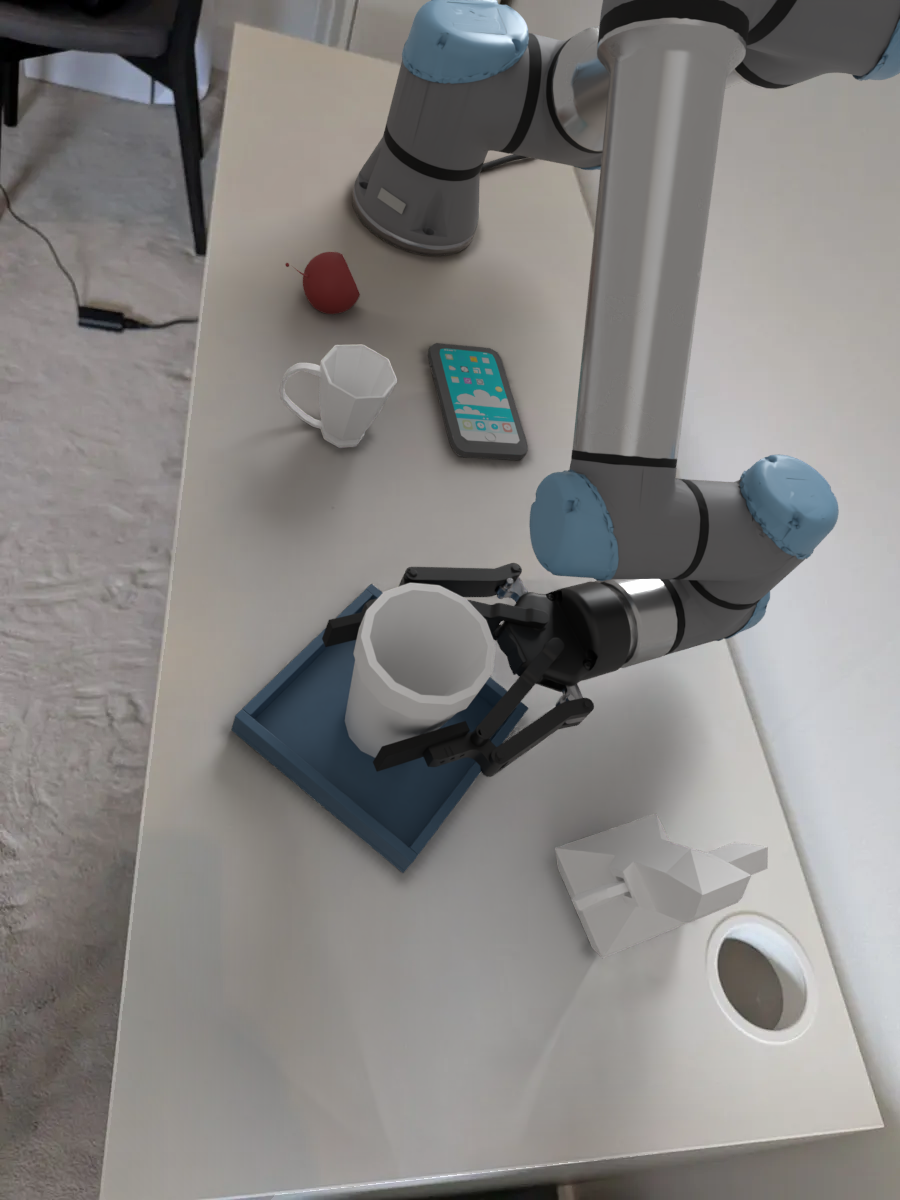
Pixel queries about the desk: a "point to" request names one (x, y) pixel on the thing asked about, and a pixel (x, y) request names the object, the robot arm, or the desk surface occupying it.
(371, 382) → the cup
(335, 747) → the tray
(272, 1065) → the desk surface
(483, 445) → the smartphone
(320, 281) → the fruit
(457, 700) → the foam cup
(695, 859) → the tape dispenser
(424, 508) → the desk surface
